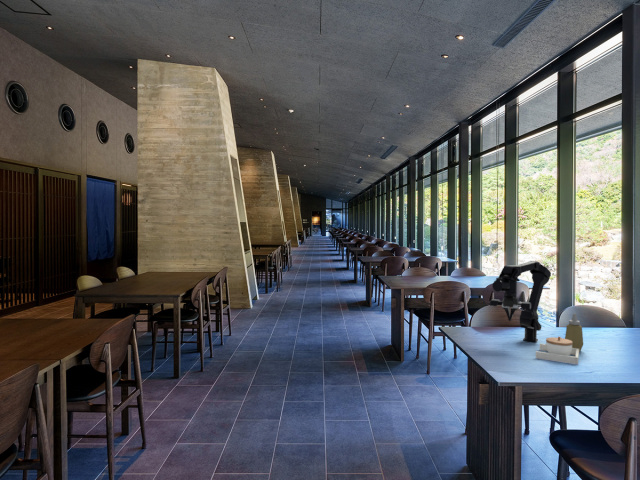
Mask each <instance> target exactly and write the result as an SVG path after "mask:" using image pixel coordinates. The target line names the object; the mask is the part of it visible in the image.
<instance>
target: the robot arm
mask: <svg viewBox="0 0 640 480" xmlns="http://www.w3.org/2000/svg"><path fill="white" fill-rule="evenodd" d="M526 272H529V273H530V274H531V275H532V276H531V279H532V282H533V283H532V284H533V285H532V287H531V291H530V295H529V299H528V301H522V302H519V298H518V297H517V296H518V295H517V293H518V292H517V291H518V289H517V288H518V282H520V281H521V280H520V278H518V277H520V276H521V275H522V273H526ZM551 275H552V273H551V271H550V269H549V268H547V267H546V266H545V265H543V264H541V263H540V262H539V261H537V260H529V261H526V262H524V263H519V264H515V265H512V264H511V265H508V264H507V265H504V266H503V268H502V269H501V271H500V273H499V275H498V277H496V279H495V280H494V281H493V283H492V289H493V291H495V292H496V293H497V292H498V293H499V292H504V293H503V297H502V301H501V300H500V299H496V298H492V299H490V301H489V306H490V307H491V306H493V307H497V306H498V305H499V306H501V309H503V310H504V312H505V313H506V316H507V320H508V322H511V321H512V319H513V316H514V314H515V312H516V311H517V310H519V308H520V307H521V309H522V310H521V312H520V315H519V325H520V328H521V329H524V337H523V339H522V340H523V341H524V342H532V343H537V342H538V340H539V339H538V338H537V337H538V336H537V335H538V333H537V332H540V331H541V330H542V324H541V323H540V321H539V314H538V308H539V305H540V300H541V297H542V293H543V289H544V287H545V285H546V284H547V283H548V282H549V281H550V278H551Z"/></svg>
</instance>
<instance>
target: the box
mask: <svg viewBox="0 0 640 480" xmlns="http://www.w3.org/2000/svg"><path fill="white" fill-rule="evenodd" d="M571 355H572V356H571ZM535 359H538V360H546V361H552V362H559V363H566V364H572V365H577V366H578V364H579V359H580V351H579V349H577V348H572V351H571V353H570V355H569V356H567V355H560V354H553V353H549V352H548V351H547V347H546V343H539V351H538V350H535Z"/></svg>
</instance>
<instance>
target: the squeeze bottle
mask: <svg viewBox="0 0 640 480" xmlns="http://www.w3.org/2000/svg"><path fill="white" fill-rule="evenodd" d="M564 339H568V340H571V341H572V342H573V344H572V348H577V349H579V352H581V351H582V350H583V349H582V348H583V346H584V334H583V327H582V325H581V322H580V320H578V317H577V313H576V312H573V313H572V317H571V319H569V320H568V324H566V329H565V336H564Z"/></svg>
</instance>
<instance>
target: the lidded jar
mask: <svg viewBox="0 0 640 480" xmlns="http://www.w3.org/2000/svg"><path fill="white" fill-rule="evenodd" d="M545 342H546V343H545V344H546V347H547V351H546V352H547V353H553V354H560V355H567V356H571V354H570V353H571V351H572V344H573V342H572V341H571V340H568V339H565V337H564V338H563V337H561V336H557V337H553V336H552V337H547V338H546V339H545Z"/></svg>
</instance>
